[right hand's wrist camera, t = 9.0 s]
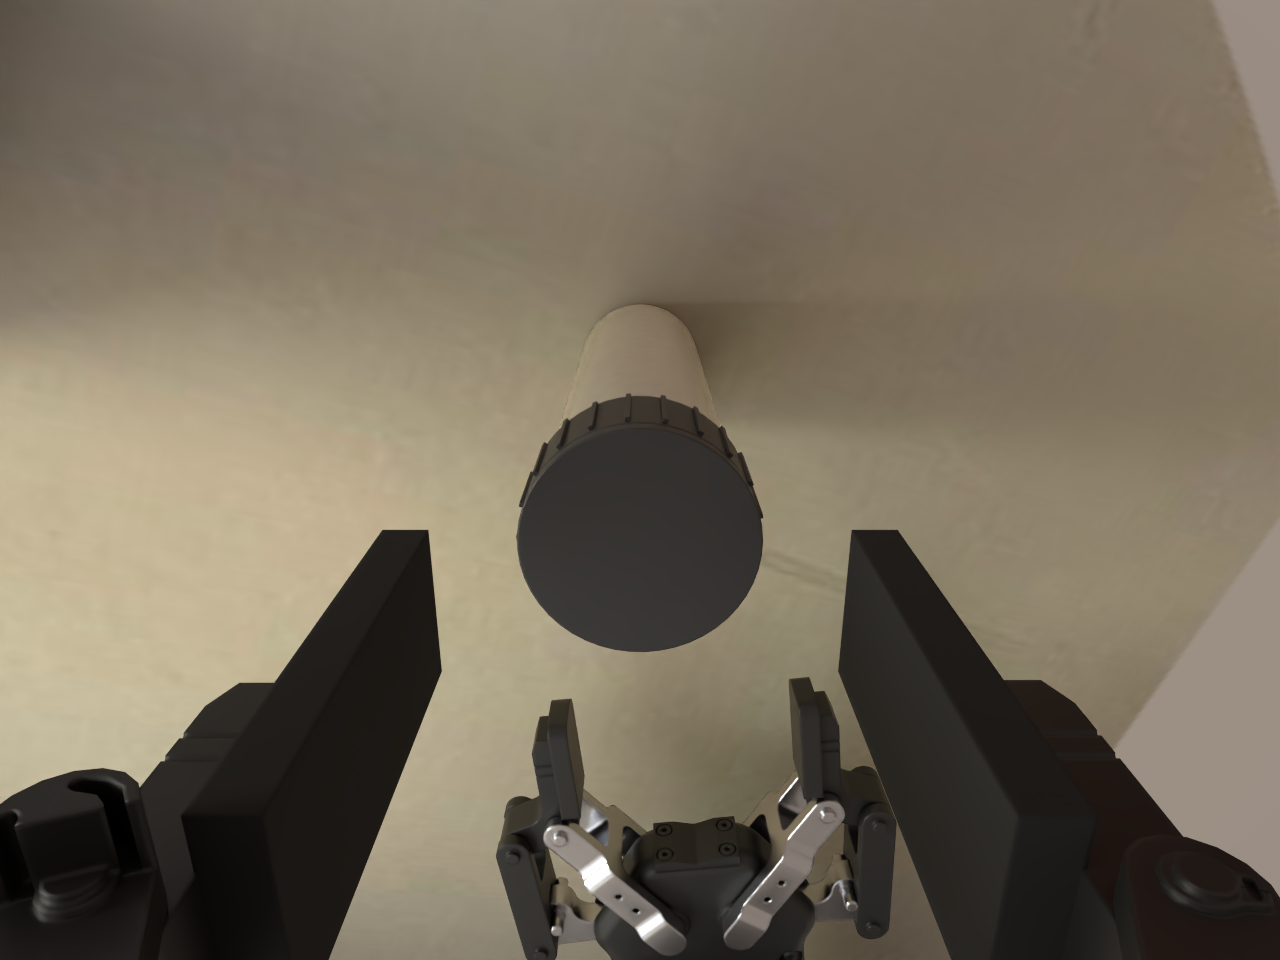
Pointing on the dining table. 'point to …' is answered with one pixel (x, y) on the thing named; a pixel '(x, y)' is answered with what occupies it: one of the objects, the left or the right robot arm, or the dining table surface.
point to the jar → (640, 362)
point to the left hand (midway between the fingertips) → (679, 701)
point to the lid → (639, 525)
